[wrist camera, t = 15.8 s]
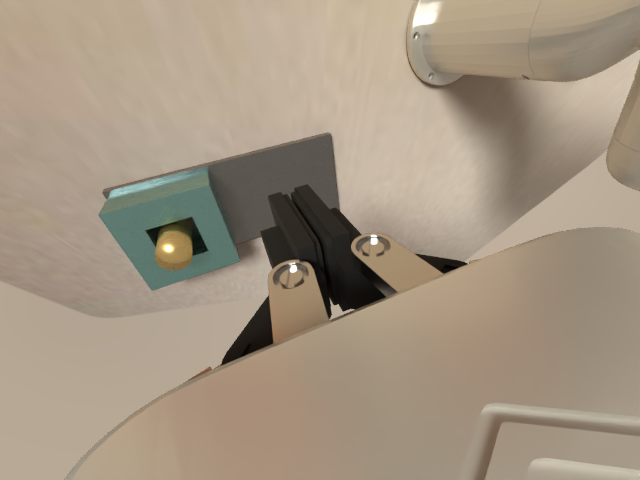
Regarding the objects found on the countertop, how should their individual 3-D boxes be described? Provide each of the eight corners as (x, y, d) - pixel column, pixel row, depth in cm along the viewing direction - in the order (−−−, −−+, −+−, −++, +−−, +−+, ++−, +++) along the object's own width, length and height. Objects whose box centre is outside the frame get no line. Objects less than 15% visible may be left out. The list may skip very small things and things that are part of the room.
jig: (328, 132, 38) (347, 143, 34) (336, 208, 45) (353, 226, 41) (104, 189, 32) (89, 212, 28) (154, 266, 40) (149, 295, 35)
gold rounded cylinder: (186, 206, 36) (184, 238, 30) (196, 229, 38) (197, 264, 32) (155, 213, 35) (148, 248, 29) (168, 237, 37) (163, 274, 31)
